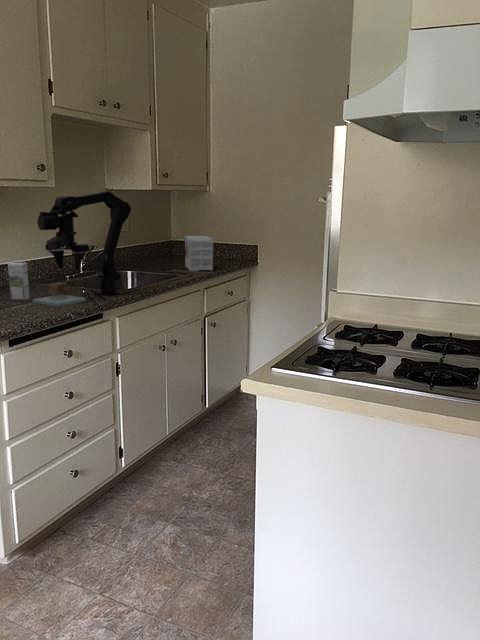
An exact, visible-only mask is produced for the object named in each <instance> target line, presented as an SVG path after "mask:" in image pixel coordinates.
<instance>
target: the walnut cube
mask: <svg viewBox="0 0 480 640" xmlns="http://www.w3.org/2000/svg"><path fill="white" fill-rule="evenodd" d="M48 291H49V296H55V295H60V294H63V295H68V283H66V282H65V283H64V282H52V283H48Z"/></svg>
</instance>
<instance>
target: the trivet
mask: <svg viewBox="0 0 480 640" xmlns="http://www.w3.org/2000/svg"><path fill="white" fill-rule="evenodd" d="M86 300H87V299H86V297H81V296H75V295H69V294H67V295H63V294H60V295H55V296H50V295H49V296H44V297H39V298H32V303H33V304H38V305H46V306H51V307H57V308H58V307H63V306H69V305H73V304H78V303H81V302H86Z"/></svg>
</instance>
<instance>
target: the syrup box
mask: <svg viewBox="0 0 480 640" xmlns="http://www.w3.org/2000/svg"><path fill="white" fill-rule="evenodd" d="M7 271H8V272H7V273H8V281H9V282H8V283H9V293H10V294H9V295H10V300H11V301H27V300H28V299H29V298H30V289H29V273H28V272H29V271H28V263H27V262H19V261H18V262H15V261H14V262H9V263H7Z"/></svg>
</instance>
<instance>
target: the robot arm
mask: <svg viewBox="0 0 480 640" xmlns="http://www.w3.org/2000/svg"><path fill="white" fill-rule="evenodd" d="M99 203H104V205H105V206H106V207H107V208H108V209H109V210H110V211H109V214H110V215H109V216H110V225H109V227H108V232H107V236H106V239H105V242H104V246H103V251H102V253H101V254H100V256H95V259H94V260H95V261H94V264H93V265H92V266H93V267H94V268H93V270H94V272H95V274H96V275H97V277H98V279H99V280H100V292H98V294H100V295H107V296H112V295H113V296H114V295H117V293H118V294H121V292H120V291H118V281H119V280H120V277H121V274H120V273H119V272H118V271H116V270H115V269H116V261H115V255H116V251H117V246H118V244H119V241H120V240H119V239H120V236H121V232H122V229H123V225H124V223H125V222H126V221H127V220H128V218H129V216H130V214H131V212H132V207H131V205H130V203H129V202H127V201H124V200H123V199H121V198H120V197H118V196H116V195H115V194H114V193H112V192H111V191H109V190H107V191H106V190H103V191H100V192H96V193H95V192H94V193H90V194H84V195H83V194H82V195H79V196H66V195H65V196H57V197H56V198H55V200H54V205H53V206H52V208H51V209H50V211H49V212H48V211H47V212H46V211H40V212H39V216H38V218H37V221H36V222H37V227H38V229H39V230H40V231H52V230H53V231H55V230H57V229H58V231H56V232H55V236H54V237H52V238H50V239H48V240H47V241H46V244H45V250H46V251H48V253H49V254H51V255H52V256H53V257H54V260H55V262H56V264H57V266H58V267H57V268H58V269H62V268H63V263H64V256H65V250H69V251H71V256H73V258H74V259H73V261H74V269H75V271H79V269H80V267H81V264H82V262H83V260H84V258H85V256H86V254H88V252H90V249H91V248H90V245H89V244H86V243H78V242H76V241H75V235H77V231H75V227H74V226H75V224H74V218H79V215H78V214H77V212H75V211H76V210H78V209H79V208H81V207H83V206H89V205H94V204H99Z"/></svg>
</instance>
